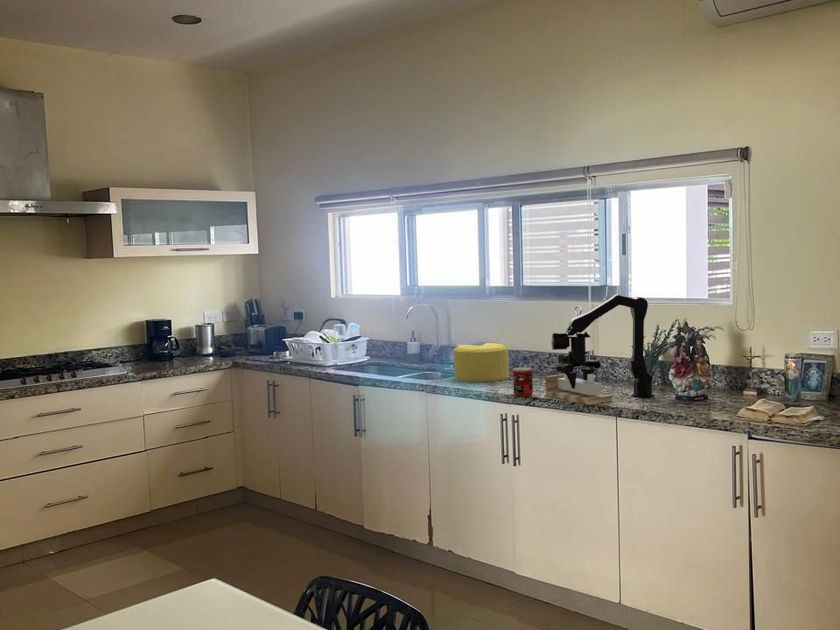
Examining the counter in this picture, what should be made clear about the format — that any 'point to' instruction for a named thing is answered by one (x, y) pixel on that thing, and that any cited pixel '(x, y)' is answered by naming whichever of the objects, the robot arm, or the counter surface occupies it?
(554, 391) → the shelf
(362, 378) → the counter surface
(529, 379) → the canned food
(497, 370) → the cheese
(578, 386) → the white studded brick
